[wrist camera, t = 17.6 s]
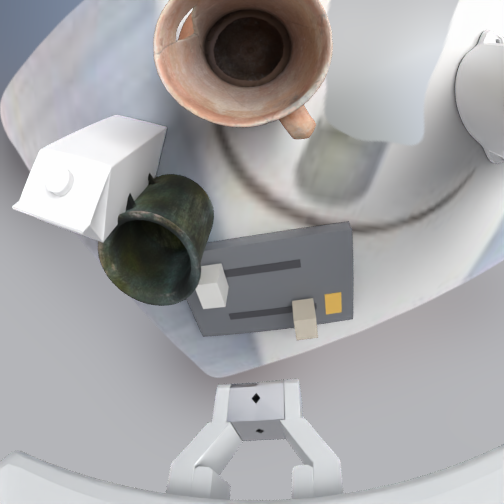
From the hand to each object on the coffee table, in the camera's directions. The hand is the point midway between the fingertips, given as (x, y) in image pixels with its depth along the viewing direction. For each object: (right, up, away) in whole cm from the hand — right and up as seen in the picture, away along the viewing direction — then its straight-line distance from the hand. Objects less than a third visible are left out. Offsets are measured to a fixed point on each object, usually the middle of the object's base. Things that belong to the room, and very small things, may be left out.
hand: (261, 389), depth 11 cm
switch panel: (+2, +1, +34) cm, 34 cm away
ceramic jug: (0, +26, +18) cm, 32 cm away
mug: (-11, +12, +28) cm, 32 cm away
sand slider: (+7, -3, +34) cm, 35 cm away
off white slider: (-5, +2, +31) cm, 32 cm away
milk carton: (-15, +18, +24) cm, 33 cm away
